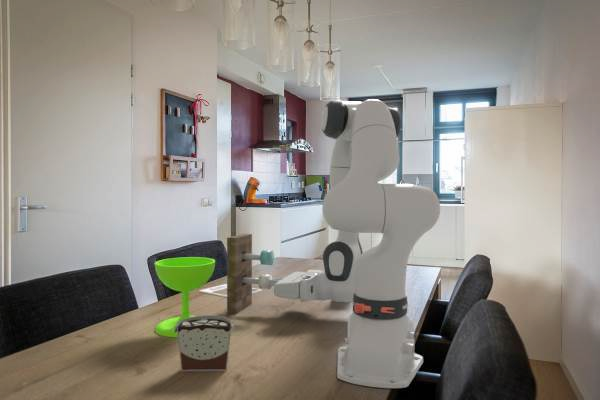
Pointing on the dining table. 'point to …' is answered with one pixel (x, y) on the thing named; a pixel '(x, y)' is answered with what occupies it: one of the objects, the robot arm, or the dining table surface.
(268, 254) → the knob upper
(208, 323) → the food container
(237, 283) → the block
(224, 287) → the photo frame
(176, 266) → the wineglass
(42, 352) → the dining table surface
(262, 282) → the knob lower
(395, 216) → the robot arm
